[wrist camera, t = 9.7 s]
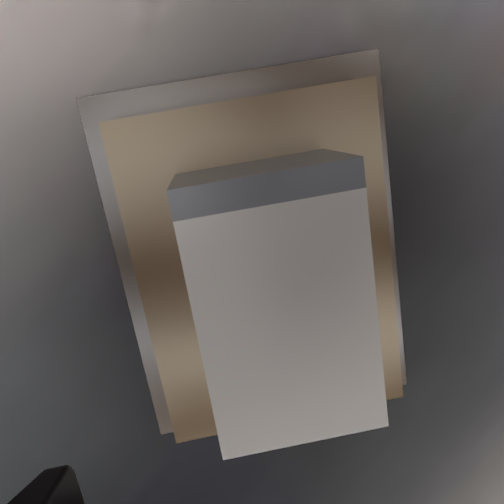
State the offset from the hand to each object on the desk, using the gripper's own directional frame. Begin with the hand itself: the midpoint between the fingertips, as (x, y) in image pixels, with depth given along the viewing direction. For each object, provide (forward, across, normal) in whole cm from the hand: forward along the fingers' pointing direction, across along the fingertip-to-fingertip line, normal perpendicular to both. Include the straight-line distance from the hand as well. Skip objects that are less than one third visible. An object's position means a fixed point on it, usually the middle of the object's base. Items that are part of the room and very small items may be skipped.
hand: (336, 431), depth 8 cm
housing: (+9, 0, 0) cm, 9 cm away
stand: (+12, 0, 0) cm, 12 cm away
